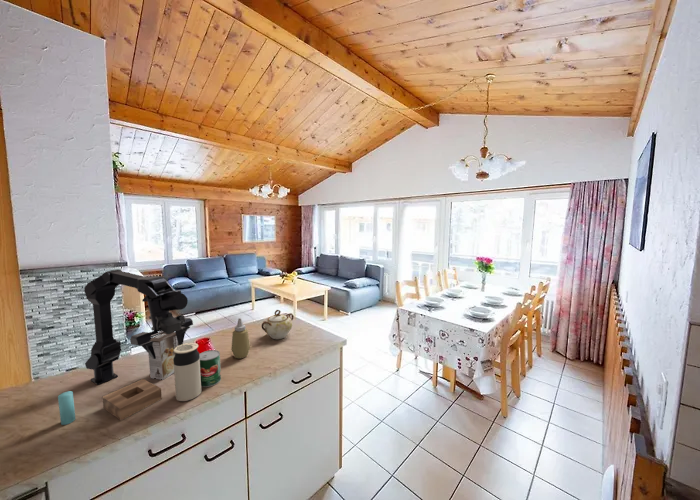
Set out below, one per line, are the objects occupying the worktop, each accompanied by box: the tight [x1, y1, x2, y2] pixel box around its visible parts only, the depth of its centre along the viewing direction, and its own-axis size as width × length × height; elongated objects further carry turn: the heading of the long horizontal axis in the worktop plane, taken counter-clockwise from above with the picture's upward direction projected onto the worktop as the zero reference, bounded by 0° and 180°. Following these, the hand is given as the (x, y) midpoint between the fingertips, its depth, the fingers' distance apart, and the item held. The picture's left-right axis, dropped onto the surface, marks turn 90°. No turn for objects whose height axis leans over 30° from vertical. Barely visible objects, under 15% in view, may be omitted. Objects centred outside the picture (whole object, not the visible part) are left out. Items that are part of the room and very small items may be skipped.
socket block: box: [101, 378, 163, 421], centre depth 94 cm, size 12×12×4 cm
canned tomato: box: [199, 349, 222, 388], centre depth 107 cm, size 8×8×11 cm
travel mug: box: [173, 342, 202, 402], centre depth 98 cm, size 8×8×18 cm
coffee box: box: [147, 332, 179, 381], centre depth 112 cm, size 9×6×16 cm
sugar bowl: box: [261, 309, 295, 340], centre depth 149 cm, size 20×15×15 cm
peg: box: [57, 390, 76, 426], centre depth 85 cm, size 3×3×9 cm
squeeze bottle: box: [230, 317, 251, 359], centre depth 127 cm, size 8×8×18 cm
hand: (168, 352), depth 101 cm, fingers open, 9 cm apart
